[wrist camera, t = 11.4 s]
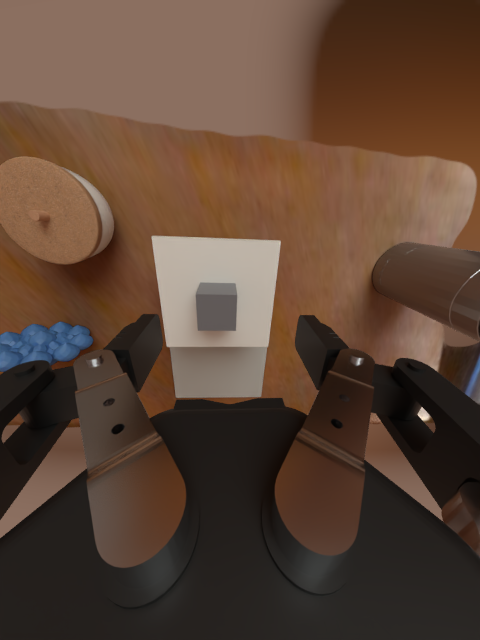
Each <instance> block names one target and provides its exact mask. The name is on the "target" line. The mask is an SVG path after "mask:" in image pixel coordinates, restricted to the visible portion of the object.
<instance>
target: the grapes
mask: <svg viewBox="0 0 480 640" xmlns="http://www.w3.org/2000/svg"><path fill="white" fill-rule="evenodd" d="M89 334H90V331H89V329H87V328H86V327H83V326H79V325H77V326H75V327H72V326H71V325H70V324H68V323H64V322H58V323H56V324H54V325H53V326H52V327H50V329H49V330H48V328H46V327H44V326H42V325H38V324H32V325H30V326H28V327H26V328H25V329H24V330H22V332H21V335H20V334H18V333H13V332H5V333H3V334H1V335H0V372H5V371H7V370H9V369H10V368H12V367H15V366H17V365H19V364H22V363H26V362H29V361H35V360H45V361H48V362H49V364H50V366H51V365H53V364H55V363H56V362H57V361H63V362H65V361H70V360H72V359H74V358H76V357H77V356H78V355H79V353H80V350H84V349H86V348H88V347H89V346H91V345H92V343H93V338H92V337H91V336H89Z"/></svg>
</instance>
